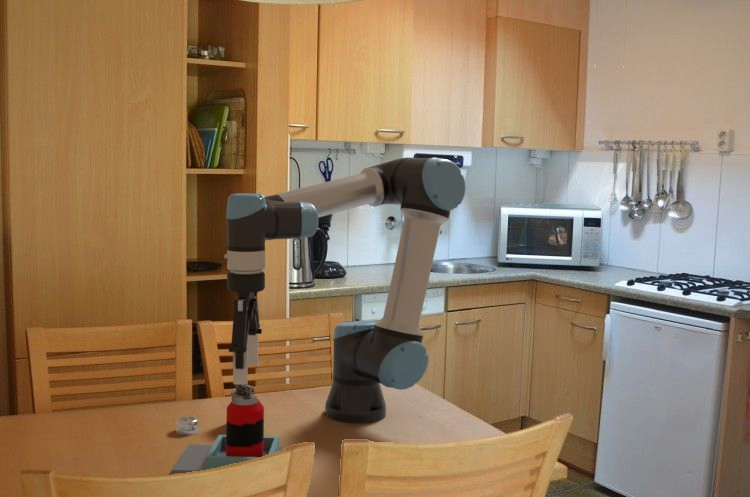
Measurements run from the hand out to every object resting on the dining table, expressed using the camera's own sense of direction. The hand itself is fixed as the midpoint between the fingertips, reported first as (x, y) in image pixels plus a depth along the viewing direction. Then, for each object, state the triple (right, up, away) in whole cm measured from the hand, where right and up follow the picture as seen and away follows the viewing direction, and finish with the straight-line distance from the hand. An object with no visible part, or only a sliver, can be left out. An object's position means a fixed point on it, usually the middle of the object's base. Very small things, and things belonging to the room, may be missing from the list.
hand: (246, 374), depth 160 cm
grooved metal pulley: (-17, -16, +20) cm, 31 cm away
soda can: (-1, -18, +2) cm, 18 cm away
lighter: (-5, -16, +25) cm, 30 cm away
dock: (-4, -18, +2) cm, 19 cm away
